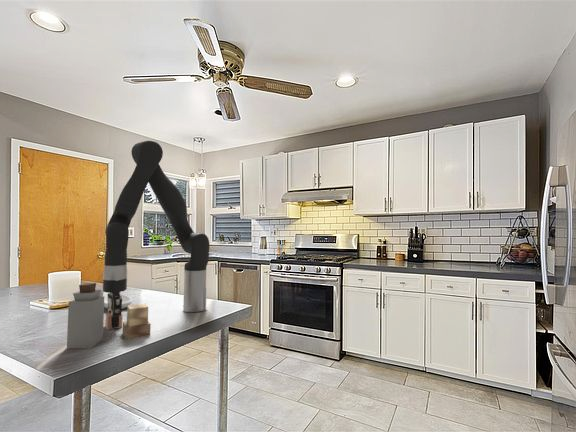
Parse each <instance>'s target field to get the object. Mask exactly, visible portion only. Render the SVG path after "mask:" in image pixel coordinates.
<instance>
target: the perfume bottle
mask: <svg viewBox="0 0 576 432" xmlns="http://www.w3.org/2000/svg"><path fill="white" fill-rule="evenodd" d="M96 285H97V283H96V282H85V283H81V284H79V286H78V288H79V290H78V291H75V292H73V293H72V296H73V299H72V300H70V301H68V309H67V313H68V314H67V334H66V335H67V337H66V349H90V348H91V349H92V348H93V347H94V346H96V345H97V344H99V343H100V342H101V341H103V339H104V318H105V314H104V313H105V306H104V296H99V295H100V292H101V290H102V289H96Z"/></svg>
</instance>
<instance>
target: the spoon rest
mask: <svg viewBox="0 0 576 432" xmlns="http://www.w3.org/2000/svg"><path fill="white" fill-rule="evenodd" d="M100 290H101V292H100V295H99V296H104V308H106V309H107V307H108V306H107V304H108V299H107V298H108V296H107V294H108V293H107V292H103V288H101V289H100ZM120 296H122V308H121V310H123V309H125V308H127V306H129V305H132V303H133V301H134V300H133V298H132V297H130V296H128V295H125V294H123V293H121V292H120Z"/></svg>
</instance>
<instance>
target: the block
mask: <svg viewBox="0 0 576 432" xmlns="http://www.w3.org/2000/svg"><path fill="white" fill-rule="evenodd" d="M116 312H117V311H116ZM116 312H115V313H116ZM111 315H112V313H110V312H109V313H105V328H106V329H107V330H112V329H114V328H112V327H111V325H112V316H111ZM118 328H123V313H121V316H119V327H116V328H115V329H118Z"/></svg>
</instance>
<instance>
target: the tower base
mask: <svg viewBox="0 0 576 432" xmlns="http://www.w3.org/2000/svg"><path fill="white" fill-rule="evenodd" d="M122 335H123V336H124V338H125V339H126V340H133V339H136V338H137V337H138V338H142V336H143V337H149V336H151V323H150V321H148V324H143V325H137V326H130V327H129V325H128V323H127V321H124V322H123V321H122ZM148 335H149V336H148ZM138 338H137V339H138Z"/></svg>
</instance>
